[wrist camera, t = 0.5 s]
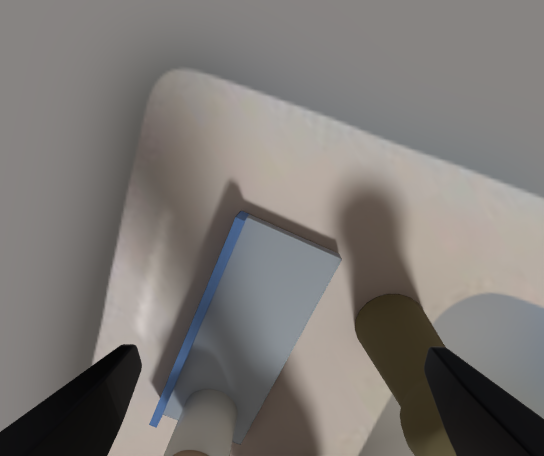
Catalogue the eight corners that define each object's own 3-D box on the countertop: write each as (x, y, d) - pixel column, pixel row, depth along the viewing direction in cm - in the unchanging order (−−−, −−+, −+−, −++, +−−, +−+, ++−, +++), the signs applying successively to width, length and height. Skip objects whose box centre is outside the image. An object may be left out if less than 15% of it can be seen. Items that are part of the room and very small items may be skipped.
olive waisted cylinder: (435, 300, 23) (564, 423, 12) (415, 360, 24) (514, 515, 14) (363, 288, 23) (430, 401, 12) (348, 349, 25) (395, 495, 14)
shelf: (242, 432, 28) (238, 459, 25) (161, 400, 27) (149, 424, 25) (339, 253, 22) (345, 265, 20) (241, 210, 22) (235, 217, 19)
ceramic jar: (226, 439, 26) (210, 512, 21) (177, 420, 26) (148, 489, 21) (245, 401, 25) (234, 468, 20) (195, 381, 25) (169, 443, 19)
